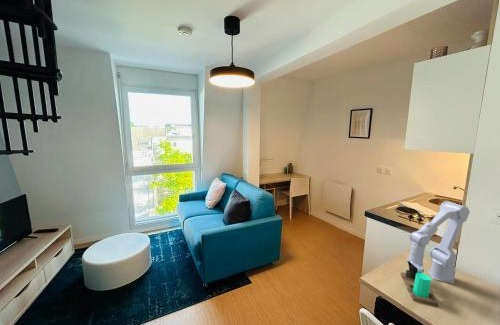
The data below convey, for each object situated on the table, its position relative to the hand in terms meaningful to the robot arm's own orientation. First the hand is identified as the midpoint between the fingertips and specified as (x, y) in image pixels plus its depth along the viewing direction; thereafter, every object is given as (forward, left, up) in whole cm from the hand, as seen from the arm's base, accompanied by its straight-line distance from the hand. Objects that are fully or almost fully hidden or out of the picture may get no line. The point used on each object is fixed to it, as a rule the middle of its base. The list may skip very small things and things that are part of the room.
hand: (413, 275), depth 117 cm
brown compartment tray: (0, +7, -3) cm, 7 cm away
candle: (0, +11, -3) cm, 11 cm away
